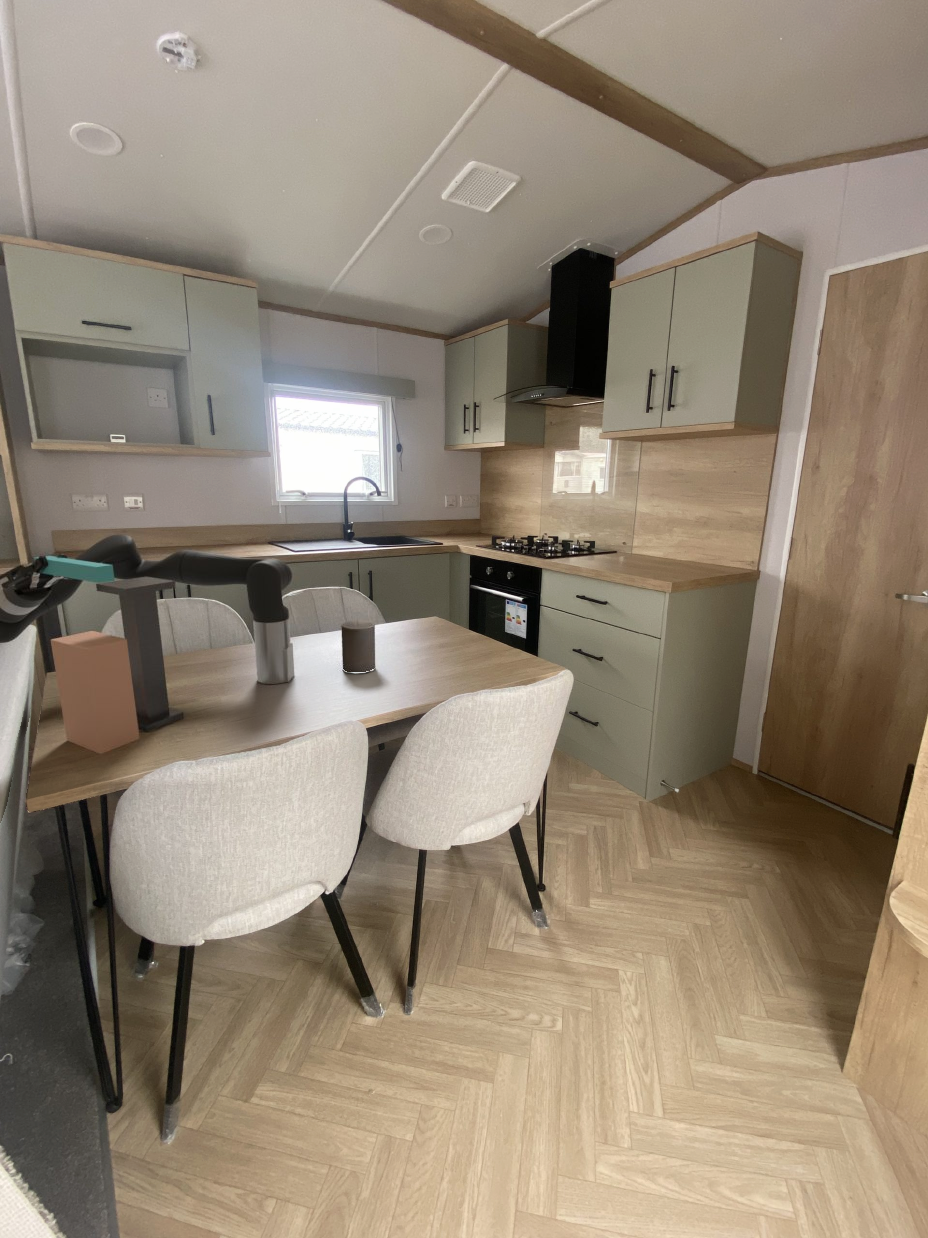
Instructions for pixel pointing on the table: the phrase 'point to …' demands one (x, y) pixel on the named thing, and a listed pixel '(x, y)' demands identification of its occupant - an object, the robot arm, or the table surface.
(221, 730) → the table surface
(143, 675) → the stand
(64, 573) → the teal bar
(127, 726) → the base block
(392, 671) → the table surface
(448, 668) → the table surface
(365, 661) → the pillar candle
